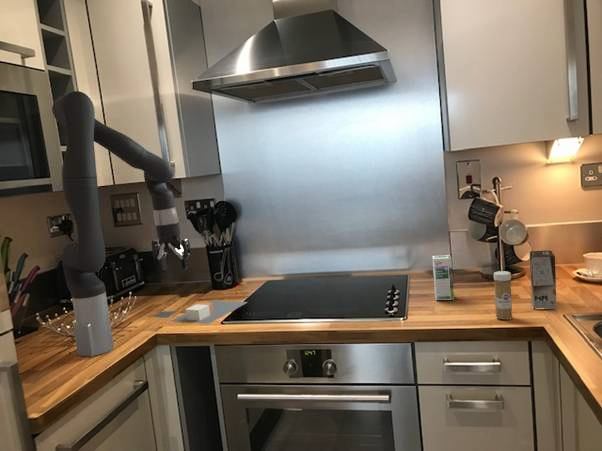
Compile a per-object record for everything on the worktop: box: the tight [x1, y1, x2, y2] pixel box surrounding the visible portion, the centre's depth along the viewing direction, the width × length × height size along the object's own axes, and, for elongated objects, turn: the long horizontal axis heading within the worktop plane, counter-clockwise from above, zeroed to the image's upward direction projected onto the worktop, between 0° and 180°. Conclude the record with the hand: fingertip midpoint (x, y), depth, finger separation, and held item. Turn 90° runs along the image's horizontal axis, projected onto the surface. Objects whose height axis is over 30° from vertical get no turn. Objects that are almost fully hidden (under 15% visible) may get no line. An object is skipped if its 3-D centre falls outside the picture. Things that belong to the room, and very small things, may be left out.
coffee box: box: [529, 250, 557, 310], centre depth 152 cm, size 9×6×16 cm
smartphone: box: [153, 310, 177, 319], centre depth 178 cm, size 7×1×15 cm
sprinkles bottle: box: [493, 270, 513, 320], centre depth 145 cm, size 5×5×14 cm
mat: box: [171, 300, 248, 325], centre depth 180 cm, size 24×16×1 cm, turn 154°
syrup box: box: [431, 254, 455, 301], centre depth 169 cm, size 6×6×14 cm
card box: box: [185, 302, 214, 321], centre depth 174 cm, size 8×6×4 cm
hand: (174, 269), depth 170 cm, fingers open, 8 cm apart
